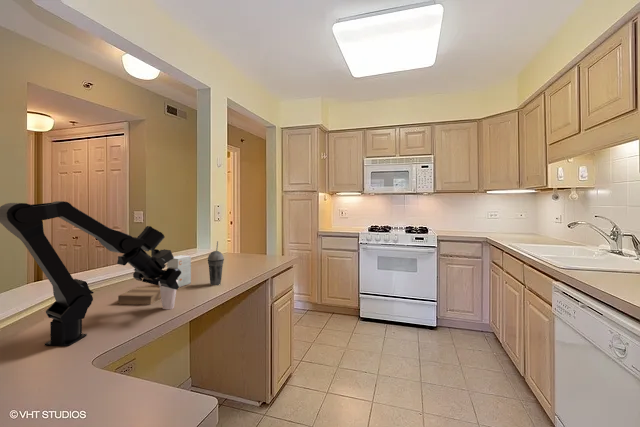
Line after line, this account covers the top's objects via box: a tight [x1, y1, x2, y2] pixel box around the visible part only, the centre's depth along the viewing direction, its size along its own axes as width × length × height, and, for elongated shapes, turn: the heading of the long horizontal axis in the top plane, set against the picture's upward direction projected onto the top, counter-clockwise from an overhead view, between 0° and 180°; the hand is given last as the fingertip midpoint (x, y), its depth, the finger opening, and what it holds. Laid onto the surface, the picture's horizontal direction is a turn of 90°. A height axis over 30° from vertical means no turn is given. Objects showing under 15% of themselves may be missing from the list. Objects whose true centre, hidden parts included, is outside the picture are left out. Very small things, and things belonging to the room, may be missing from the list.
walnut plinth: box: [117, 286, 161, 305], centre depth 118 cm, size 12×12×3 cm
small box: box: [166, 254, 192, 288], centre depth 138 cm, size 8×6×13 cm
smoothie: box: [157, 280, 178, 310], centre depth 108 cm, size 6×6×14 cm
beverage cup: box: [207, 241, 225, 286], centre depth 140 cm, size 7×7×20 cm
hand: (171, 287), depth 110 cm, fingers closed on smoothie, 6 cm apart
